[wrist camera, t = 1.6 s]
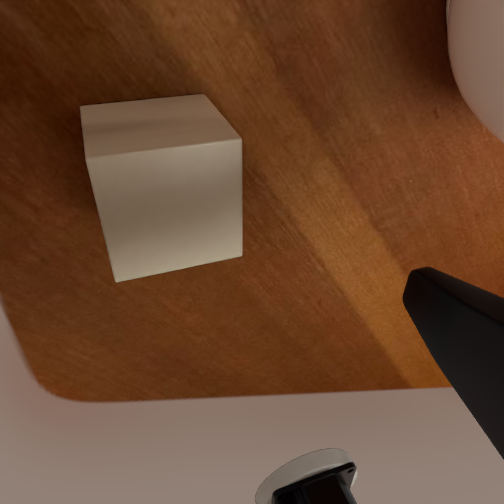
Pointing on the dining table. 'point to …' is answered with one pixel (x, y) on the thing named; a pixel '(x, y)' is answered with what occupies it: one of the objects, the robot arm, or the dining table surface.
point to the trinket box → (479, 58)
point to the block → (164, 183)
